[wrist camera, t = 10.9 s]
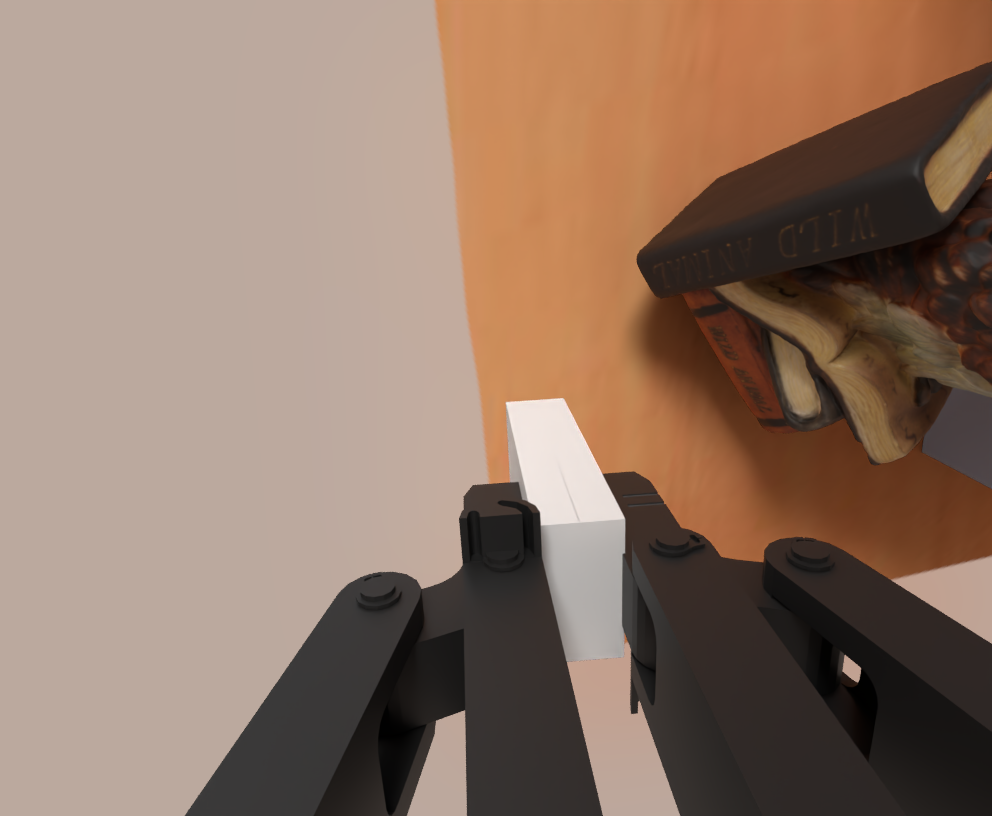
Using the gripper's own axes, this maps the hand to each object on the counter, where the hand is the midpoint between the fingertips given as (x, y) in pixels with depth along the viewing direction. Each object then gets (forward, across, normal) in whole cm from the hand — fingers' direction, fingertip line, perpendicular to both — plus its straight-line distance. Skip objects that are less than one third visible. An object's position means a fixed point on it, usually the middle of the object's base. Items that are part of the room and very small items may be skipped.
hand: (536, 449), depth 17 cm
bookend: (+21, +14, -1) cm, 25 cm away
